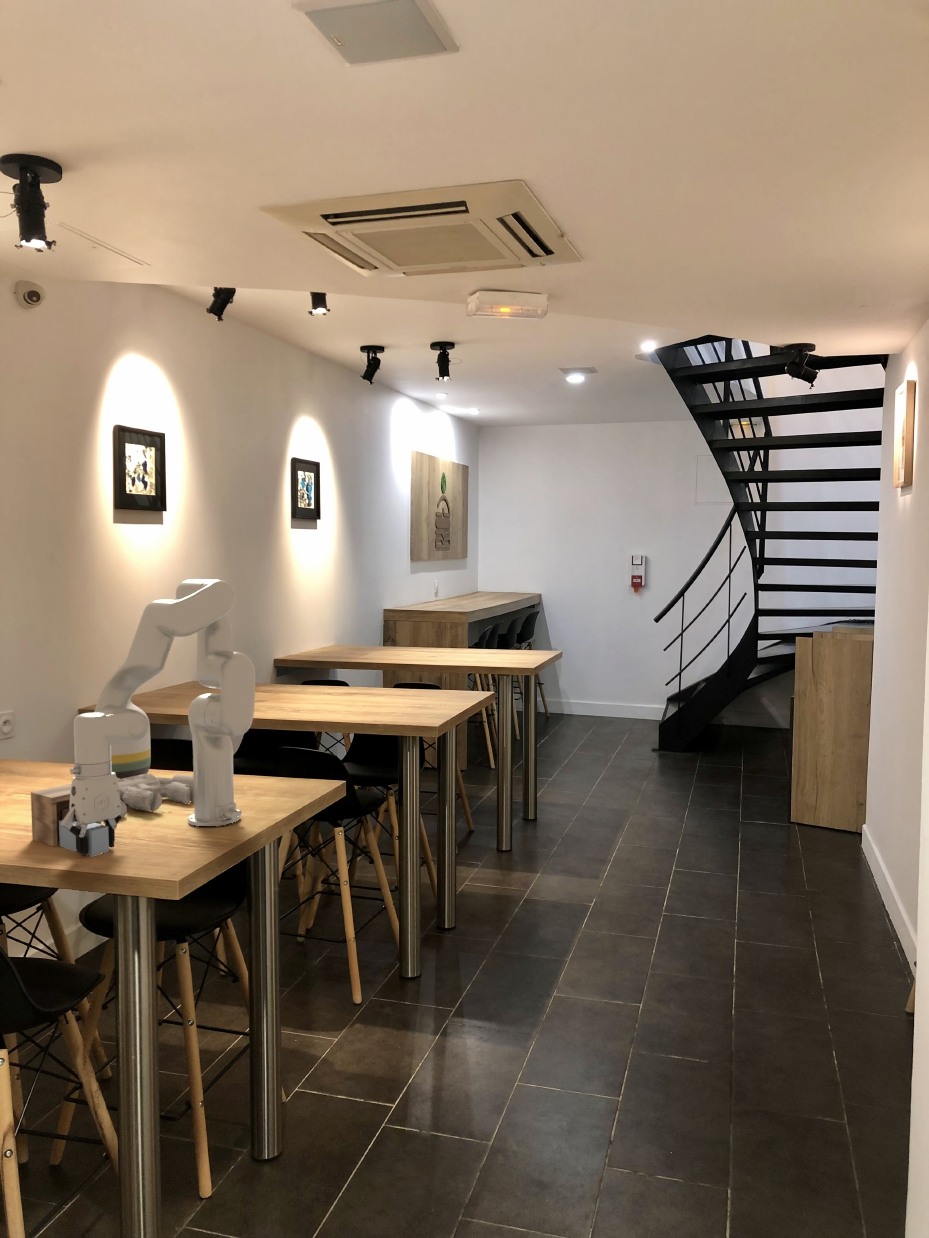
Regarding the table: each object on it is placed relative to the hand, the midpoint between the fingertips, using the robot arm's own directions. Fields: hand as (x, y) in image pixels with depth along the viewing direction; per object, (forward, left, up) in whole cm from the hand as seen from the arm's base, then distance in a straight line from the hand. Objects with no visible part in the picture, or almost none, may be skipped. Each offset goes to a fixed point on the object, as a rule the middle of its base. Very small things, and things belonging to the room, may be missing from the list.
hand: (95, 848), depth 206 cm
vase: (+57, -44, -1) cm, 72 cm away
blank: (+4, 0, -1) cm, 4 cm away
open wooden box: (+16, -3, -1) cm, 16 cm away
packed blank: (+15, -5, -1) cm, 16 cm away
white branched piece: (+32, -32, -1) cm, 45 cm away
